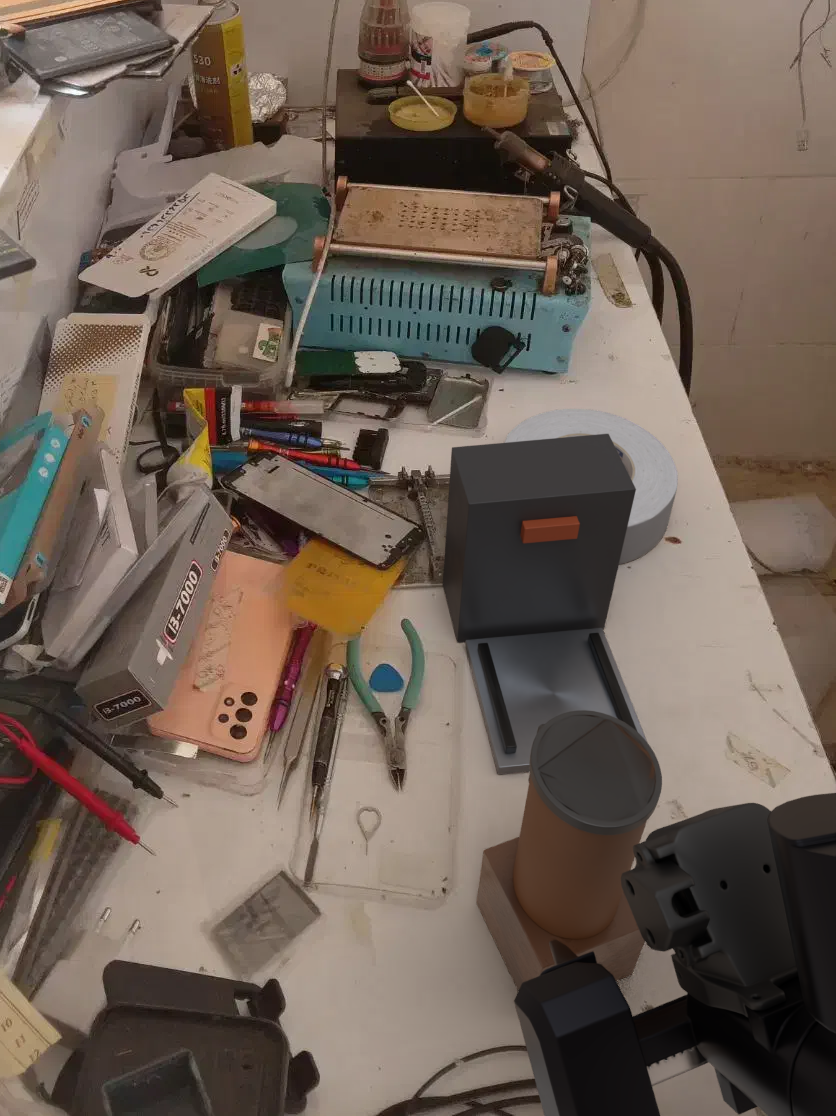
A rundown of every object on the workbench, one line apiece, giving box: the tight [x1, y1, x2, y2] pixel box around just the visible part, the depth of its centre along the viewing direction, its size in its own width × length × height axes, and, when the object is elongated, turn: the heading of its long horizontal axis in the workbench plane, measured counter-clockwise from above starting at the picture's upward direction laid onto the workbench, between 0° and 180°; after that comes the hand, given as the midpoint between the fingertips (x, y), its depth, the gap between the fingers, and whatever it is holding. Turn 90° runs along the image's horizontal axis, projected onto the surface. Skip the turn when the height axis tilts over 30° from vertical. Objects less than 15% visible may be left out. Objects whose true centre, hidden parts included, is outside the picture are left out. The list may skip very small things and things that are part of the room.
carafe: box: [513, 710, 663, 939], centre depth 55 cm, size 8×6×13 cm
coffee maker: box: [442, 434, 636, 644], centre depth 78 cm, size 7×12×16 cm, turn 94°
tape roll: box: [503, 408, 679, 565], centre depth 90 cm, size 15×15×5 cm
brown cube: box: [476, 836, 646, 991], centre depth 61 cm, size 7×7×7 cm
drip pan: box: [464, 628, 649, 775], centre depth 75 cm, size 11×11×2 cm
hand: (635, 919), depth 51 cm, fingers open, 9 cm apart
